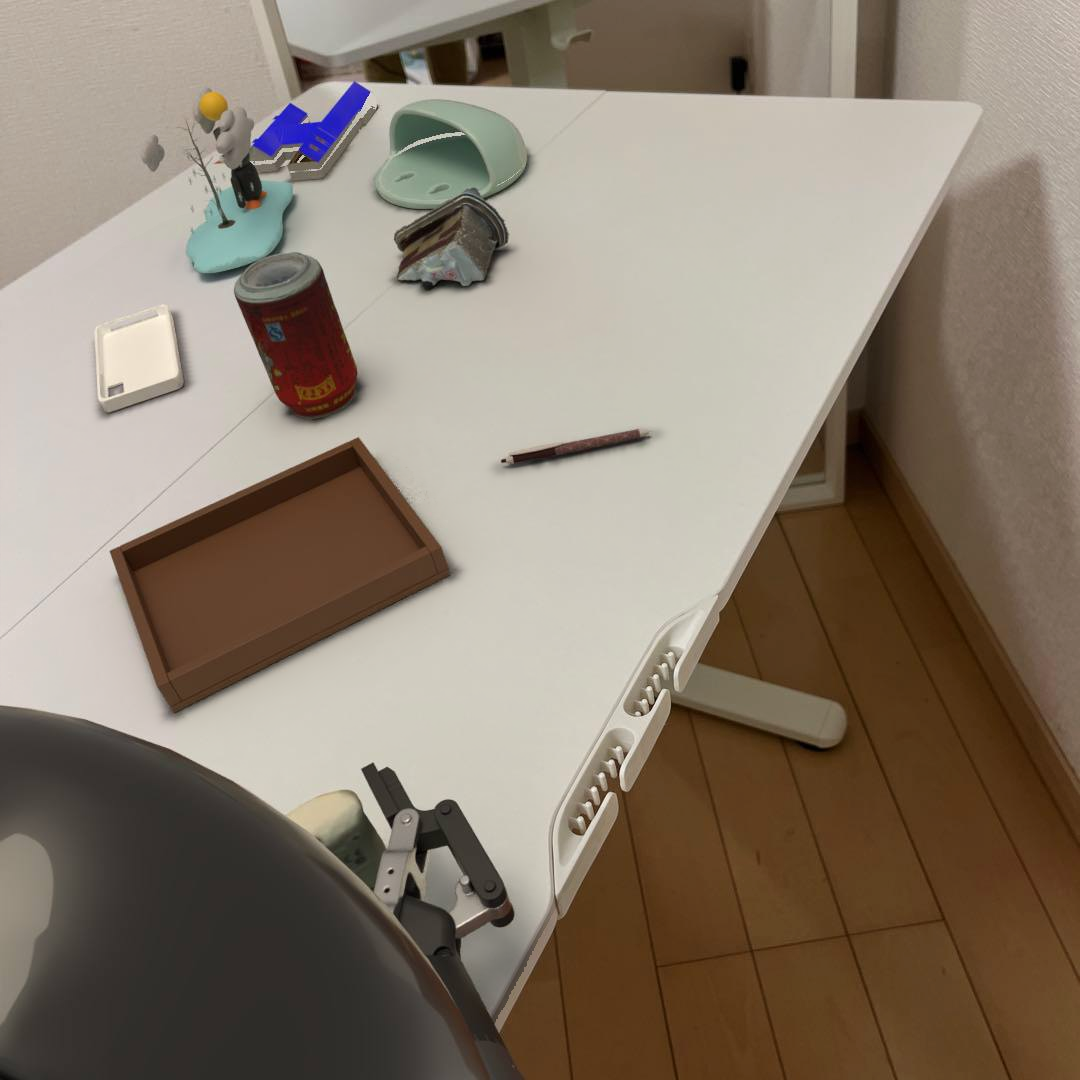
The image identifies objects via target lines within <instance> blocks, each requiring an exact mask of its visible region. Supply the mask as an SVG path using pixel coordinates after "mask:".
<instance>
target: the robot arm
mask: <svg viewBox="0 0 1080 1080" xmlns="http://www.w3.org/2000/svg"><path fill="white" fill-rule="evenodd" d="M360 771H361V772H362V774H363V777H364V778H365V780H366V781H365V782H366V783H367V784H368V787H369V789H370V791H371V793H372V794H373V797H374V799H375V801H376V802H377V805H378V806H379V808H380V810H381V813H382V814H383V816H384V818H385V820H386V822H387V825H388V826H389V828H390V830H391V832H390V836H389V841H388V846H387V848H386V849H387V851H384V852H383V854H382V857H381V861H380V866H379V870H378V874H377V879H376V883H375V887H372V888H369V887H368V886H367V885H366V884H365V883H364V882H363V881H362V880H361V879H360V878H359V877H358V876H356V875H355V874H354V873H353V872H352V871H351V870H350V869H349V868H348V867H347V866H346V865H345V864H343V863H342V862H341V861H340V860H339V859H338V858H337V857H336V856H335V855H334V854H333V853H332V852H330V851H329V850H328V849H327V848H326V847H325V846H324V845H323V844H322V843H321V842H320V841H319V840H317V839H316V838H315V837H314V836H313V835H312V834H311V833H310V832H308V831H307V830H306V829H304V828H303V827H301V826H300V825H298V824H297V823H295V822H294V821H293V820H291V819H290V818H288V817H287V816H285V815H286V814H284V813H283V812H281V811H279V810H278V809H277V808H275V807H274V806H272V805H271V804H269V803H268V802H266V801H265V800H263V799H262V798H260V797H259V796H258V795H257V794H255V793H254V792H252V791H251V790H249V789H248V788H245V787H244V786H242V785H241V784H239V783H237V782H236V781H234V780H232V779H230V778H228V777H226V776H225V775H222V774H220V773H218V772H216V771H214V770H212V769H210V768H209V767H206V766H205V765H202V764H200V763H199V762H197V761H195V760H193V759H191V758H188V757H187V756H185V755H183V754H181V753H179V752H177V751H175V750H174V749H171V748H168V747H165V746H163V745H160V744H158V743H154V742H151V741H148V740H146V739H143V738H140V737H137V736H135V735H131V734H129V733H126V732H123V731H120V730H117V729H114V728H111V727H109V726H106V725H103V724H100V723H97V722H95V721H91V720H89V719H85V718H80V717H76V716H70V715H66V714H61V713H57V712H51V711H47V710H41V709H35V708H30V707H21V706H11V705H10V706H9V705H4V704H3V705H1V704H0V1080H526V1079H525V1076H523V1074H522V1073H521V1071H520V1070H519V1069H518V1067H517V1064H516V1062H515V1061H514V1059H513V1057H512V1055H511V1053H510V1051H509V1049H508V1048H507V1046H506V1044H505V1042H504V1040H503V1038H502V1036H501V1034H500V1032H499V1030H498V1028H497V1026H496V1024H495V1022H494V1020H493V1018H492V1017H491V1014H490V1013H489V1010H488V1009H487V1007H486V1005H485V1003H484V1000H483V999H482V996H480V993H479V992H478V989H477V987H476V986H475V984H474V981H473V979H472V978H471V976H470V974H469V972H468V970H467V968H466V966H465V965H464V963H463V959H462V956H461V947H462V939H463V938H465V937H467V936H468V935H470V934H473V932H475V931H477V930H479V929H481V928H482V927H484V926H485V925H487V924H489V923H490V924H491V925H492V926H493V927H495V928H506V927H507V926H509V925H510V924H511V923H512V922H513V921H514V920H515V919H514V918H515V914H516V913H515V908H514V905H513V904H512V901H511V898H510V896H509V893H508V891H507V888H506V886H505V883H504V880H503V879H502V877H501V876H500V874H499V872H498V870H497V869H496V867H495V865H494V864H493V862H492V860H491V859H490V857H489V855H488V853H487V852H486V850H485V848H484V846H483V845H482V843H481V840H479V838H478V836H477V835H476V832H475V830H473V828H472V825H471V824H470V823H469V821H468V819H467V817H466V816H465V814H464V813H463V811H462V809H461V807H460V806H459V804H458V802H457V801H455V800H453V799H449V798H447V799H443V800H441V801H439V802H438V803H437V804H436V805H435V807H434V808H432V809H426V810H422V809H418V808H417V807H415V806H414V804H413V802H412V800H411V799H410V797H409V795H408V794H407V791H406V790H405V788H404V786H403V784H402V782H401V781H400V779H399V776H398V775H397V774H396V772H395V770H393V769H391V768H390V767H388V766H385V767H384V768H381V769H380V770H378V768H377V766H376V765H375V763H374V762H370V763H369V764H367V765H365V766H363V767H362V768H360ZM443 847H447V848H448V850H449V851H450V853H451V855H452V857H453V858H454V860H455V862H456V864H457V866H458V868H459V869H460V871H461V873H462V875H461V876H460V877H459V878H458V881H457V882H456V884H455V887H454V893H455V896H456V902H455V904H454V907H452V909H451V910H450V911H447V910H446V909H444V908H442V907H440V906H438V905H435V904H432V903H430V902H427V901H426V898H427V889H428V887H427V873H428V867H429V863H430V857H431V852H432V850H435V849H439V848H443Z"/></svg>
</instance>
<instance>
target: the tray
mask: <svg viewBox="0 0 1080 1080" xmlns="http://www.w3.org/2000/svg"><path fill="white" fill-rule="evenodd" d="M109 555H110V558H111V561H112V563H113V566H114V568H115V571H116V574H117V577H118V580H119V583H120V586H121V588H122V591H123V594H124V597H125V599H126V602H127V605H128V608H129V611H130V614H131V616H132V617H131V618H132V619H133V623H134V625H135V628H136V631H137V634H138V636H139V637H138V638H139V639H140V642H141V645H142V648H143V651H144V654H145V657H146V660H147V663H148V665H149V668H150V671H151V674H152V677H153V680H154V683H155V685H156V688H157V690H158V691H159V692H160V694H161V696H162V697H163V699H164V700H165V702H166V703H167V705H168V706H169V708H170V710H171V711H172V712H173V713H174V714H175V713H177V712H179V711H181V710H183V709H185V708H187V707H189V706H191V705H193V704H195V703H197V702H199V701H200V700H203V699H205V698H207V697H209V696H211V695H213V694H215V693H217V692H218V691H221V690H223V689H225V688H227V687H229V686H231V685H233V684H234V683H236V682H239V681H242V680H243V679H245V678H247V677H248V676H251V675H252V674H255V673H257V672H259V671H261V670H263V669H265V668H266V667H269V666H271V665H273V664H275V663H277V662H279V661H281V660H283V659H285V658H287V657H289V656H291V655H293V654H295V653H297V652H299V651H300V650H303V649H305V648H307V647H309V646H311V645H313V644H314V643H316V642H319V641H321V640H323V639H325V638H326V637H328V636H330V635H332V634H335V633H337V632H339V631H340V630H343V629H345V628H347V627H348V626H350V625H352V624H354V623H356V622H358V621H361V620H363V619H364V618H367V617H368V616H371V615H373V614H374V613H377V612H378V611H380V610H382V609H385V608H386V607H388V606H390V605H393V604H395V603H396V602H398V601H401V600H402V599H404V598H406V597H407V598H408V597H409V596H410V595H412V594H414V593H416V592H419V591H421V590H422V589H425V588H427V587H428V586H431V585H433V584H435V583H436V582H439V581H441V580H442V579H445V578H447V577H448V576H451V572H450V569H449V566H448V562H447V559H446V557H445V555H444V551H443V547H442V546H441V544H440V543H439V542H438V540H437V539H436V538H435V536H434V535H433V533H432V532H431V531H430V529H428V527H427V526H426V524H425V523H424V522H423V520H422V519H421V518H420V516H419V515H418V514H417V512H416V511H415V510H414V508H413V507H412V505H410V503H409V502H408V500H407V499H406V498H405V496H404V495H403V494H402V492H401V491H400V490H399V488H397V486H396V484H395V483H394V482H393V480H392V479H391V478H390V477H389V475H388V474H387V472H386V471H385V470H384V469H383V468H382V466H381V465H380V463H379V462H378V461H377V459H376V458H375V457H374V455H373V454H372V452H370V450H369V449H368V448H367V446H366V445H365V444H364V441H363V440H361V438H360V437H359V436H358V437H355V438H353V439H351V440H349V441H347V442H344V443H343V444H340V445H338V446H335V447H333V448H331V449H328V450H327V451H325V452H323V453H320V454H318V455H316V456H313V457H311V458H308V459H307V460H305V461H302V462H300V463H298V464H296V465H294V466H291V467H289V468H287V469H284V470H283V471H280V472H279V473H276V474H274V475H272V476H270V477H268V478H265V479H263V480H261V481H259V482H256V483H254V484H252V485H250V486H248V487H245V488H243V489H241V490H239V491H237V492H234V493H232V494H231V495H228V496H226V497H223V498H222V499H219V500H217V501H215V502H212V503H211V504H208V505H206V506H203V507H201V508H200V509H197V510H195V511H193V512H191V513H188V514H186V515H184V516H182V517H180V518H177V519H175V520H173V521H170V522H169V523H167V524H164V525H163V526H160V527H158V528H156V529H154V530H152V531H149V532H147V533H145V534H142V535H140V536H138V537H136V538H133V539H132V540H129V541H127V542H125V543H123V544H120V545H119V546H117V547H114V548H112V549H110V550H109Z"/></svg>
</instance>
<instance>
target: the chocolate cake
mask: <svg viewBox="0 0 1080 1080" xmlns="http://www.w3.org/2000/svg"><path fill="white" fill-rule="evenodd" d="M505 222H506V220H505V219H504V218H503V217H502V216H501V215H500V214H499V212H498V210H497V209H496V208H495V207H494V206H493V205H492V204H491V203H489V202H487V201H486V200H485V198H483V199H482V198H481V195H480V193H479V192H478V190H477V189H476V188H471V189H470V190H469V189H468V188H467V190H465V191H464V192H462V193H460V194H459V195H458V196H455V197H454V198H452V199H451V200H450V199H449V200H447V201H446V202H444V203H443V204H441V205H439V206H437V207H436V208H435V209H431V210H430V211H428V212H427V213H426V214H423V215H422V216H419V217H418V218H416V219H415V220H413V221H412V222H411V223H410V224H407V225H403V226H401V227H400V228H399V229H396V230H395V233H394V234H393V241H394V243H395V245H396V247H397V249H398V250H399V251H400V252H402V260H401V261H400V264H399V266H398V271H397V275H396V280H398V281H419V280H421V282H422V284H421V285H422V287H423V288H424V289H426V290H428V289H431V288H432V287H434V286H435V285H436V284H437V283H438V282H439V281H441V280H444V281H453V282H459V283H460V285H461V286H462V287H469V286H470V285H472V282H477V281H478V282H479V281H484V280H485V279H486V276H487V274H488V268H489V266H490V264H491V260H492V256H493V254H494V252H495V250H497V249H500V248H502V247H505V246H506V245H507V244H508V242H509V241H510V238H509V236H510V233H509V231H508V227H507V226H506V225H507V224H506V223H505Z"/></svg>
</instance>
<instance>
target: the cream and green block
mask: <svg viewBox="0 0 1080 1080" xmlns="http://www.w3.org/2000/svg"><path fill="white" fill-rule="evenodd" d="M284 815H285V816H287V817H288V818H290V819H291V820H293V821H294V822H295V823H297V824H298V825H300V826H301V827H303V828H304V829H306V830H307V831H308V832H310V833H311V834H312V835H313V836H314V837H315V838H316V839H317V840H319V841H320V842H321V843H322V844H323V845H324V846H325V847H326V848H327V849H328V850H329V851H330V852H332V853H333V854H334V855H335V856H336V857H337V858H338V859H339V860H340V861H341V862H342V863H343V864H345V865H346V866H347V867H348V868H349V869H350V870H351V871H352V872H353V873H354V874H355V875H356V876H358V877H359V878H360V879H361V880H362V881H363V882H364V883H365V884H366V885H367V886H368V887H369V888H372V887H375V883H376V879H377V874H378V870H379V866H380V861H381V857H382V854H383V852H384V851H387V849H388V848H387V846H386V844H385V843H384V839H382V837H381V836H380V834H379V832H378V830H377V829H376V828H375V826H374V824H373V823H372V822H371V821H370V819H369V817H368V816H367V815H366V813H365V811H364V807H363V804H362V801H361V799H360V798H359V796H358V794H357V793H356V792H355V791H353V790H351V789H339V790H335V791H331V792H327V793H326V792H325V793H323V794H320V795H318V796H316V797H314V798H312V799H309V800H308V801H306V802H304V803H302V804H300V805H299V806H297V807H295V808H294V809H292V810H291V811H290V812H288V813H286V814H284Z"/></svg>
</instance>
